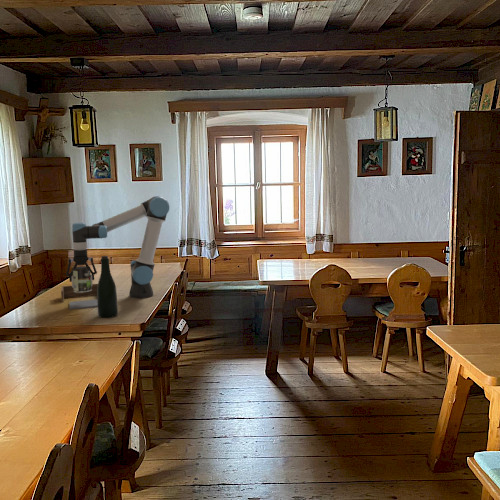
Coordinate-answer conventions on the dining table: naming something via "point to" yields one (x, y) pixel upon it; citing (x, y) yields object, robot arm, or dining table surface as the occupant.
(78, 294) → the walnut u-shaped frame
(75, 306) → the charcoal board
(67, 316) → the dining table surface
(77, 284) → the coffee can
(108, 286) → the green wine bottle
